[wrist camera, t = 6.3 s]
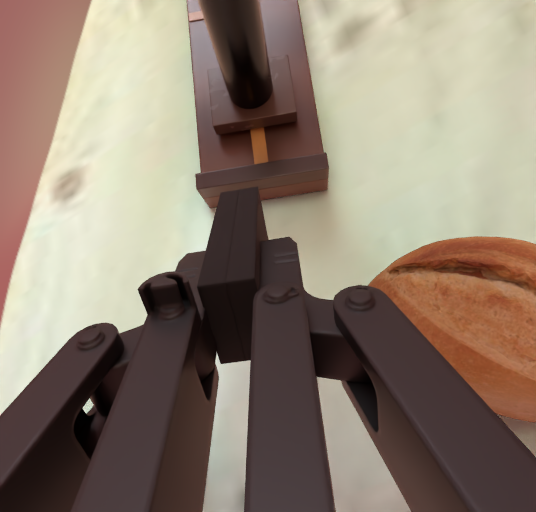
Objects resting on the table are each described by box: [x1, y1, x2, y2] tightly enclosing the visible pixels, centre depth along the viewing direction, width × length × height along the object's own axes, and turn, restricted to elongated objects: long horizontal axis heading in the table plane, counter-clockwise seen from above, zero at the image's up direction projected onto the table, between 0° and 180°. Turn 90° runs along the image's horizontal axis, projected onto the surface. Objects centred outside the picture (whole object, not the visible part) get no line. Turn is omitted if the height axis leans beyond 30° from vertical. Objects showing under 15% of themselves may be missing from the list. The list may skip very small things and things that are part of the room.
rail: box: [187, 0, 329, 208], centre depth 32 cm, size 24×9×4 cm, turn 7°
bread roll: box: [368, 237, 536, 422], centre depth 23 cm, size 10×15×8 cm, turn 75°
